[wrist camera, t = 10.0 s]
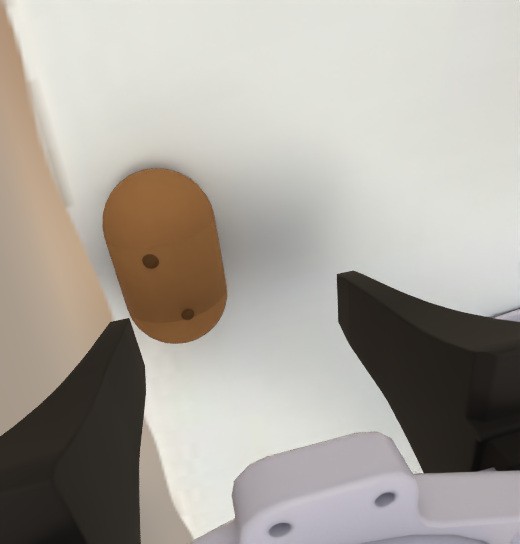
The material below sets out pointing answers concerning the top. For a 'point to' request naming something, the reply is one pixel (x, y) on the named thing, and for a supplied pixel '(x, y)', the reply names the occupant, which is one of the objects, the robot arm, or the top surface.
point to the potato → (166, 254)
